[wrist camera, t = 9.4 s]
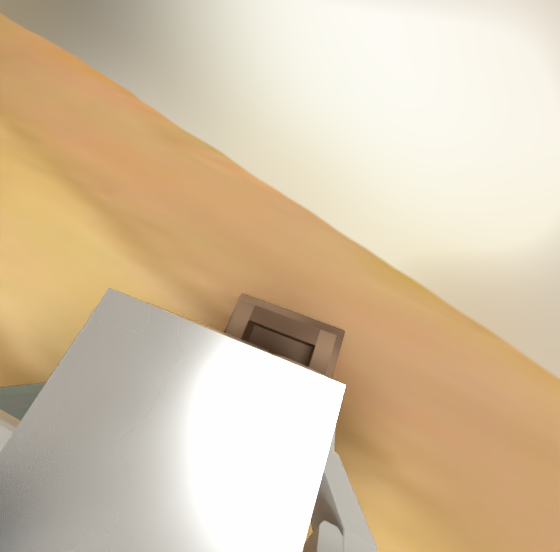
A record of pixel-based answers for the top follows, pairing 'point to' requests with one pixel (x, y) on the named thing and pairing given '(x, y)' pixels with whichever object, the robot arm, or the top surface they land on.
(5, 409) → the bottle
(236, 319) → the stand
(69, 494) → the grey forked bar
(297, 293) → the top surface
